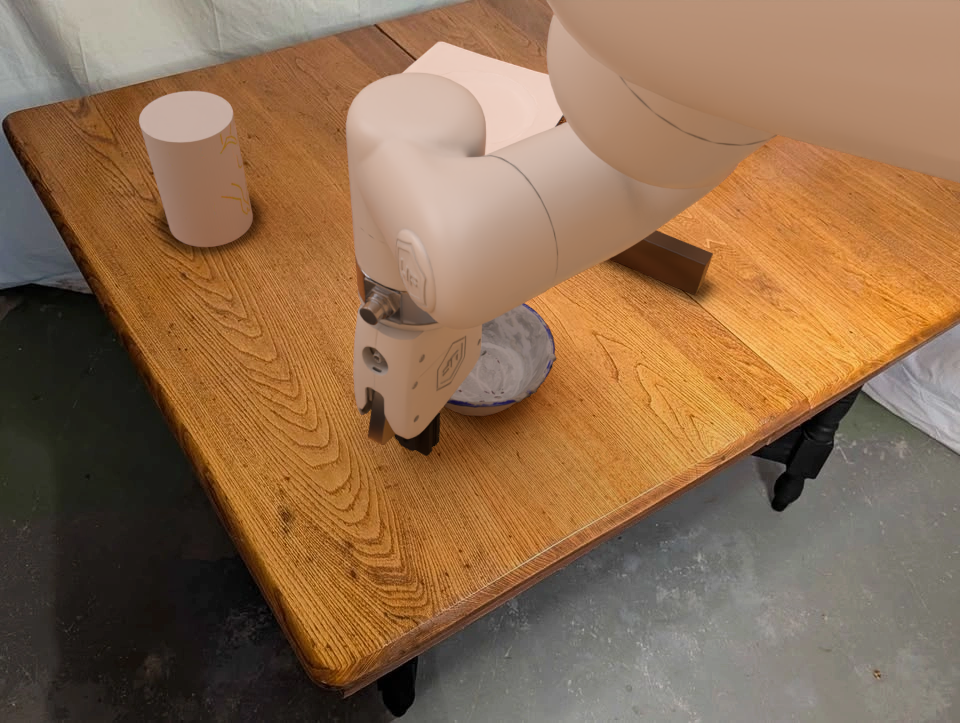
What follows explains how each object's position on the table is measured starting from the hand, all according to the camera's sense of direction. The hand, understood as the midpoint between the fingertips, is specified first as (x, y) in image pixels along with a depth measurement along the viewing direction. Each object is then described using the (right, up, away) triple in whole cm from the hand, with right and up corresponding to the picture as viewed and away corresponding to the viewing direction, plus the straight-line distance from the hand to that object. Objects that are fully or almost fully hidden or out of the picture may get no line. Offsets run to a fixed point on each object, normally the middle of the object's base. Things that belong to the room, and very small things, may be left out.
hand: (417, 441), depth 67 cm
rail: (+16, +18, +19) cm, 31 cm away
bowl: (+5, +5, +6) cm, 9 cm away
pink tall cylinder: (-22, +20, +18) cm, 35 cm away
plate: (+4, +35, +33) cm, 48 cm away
